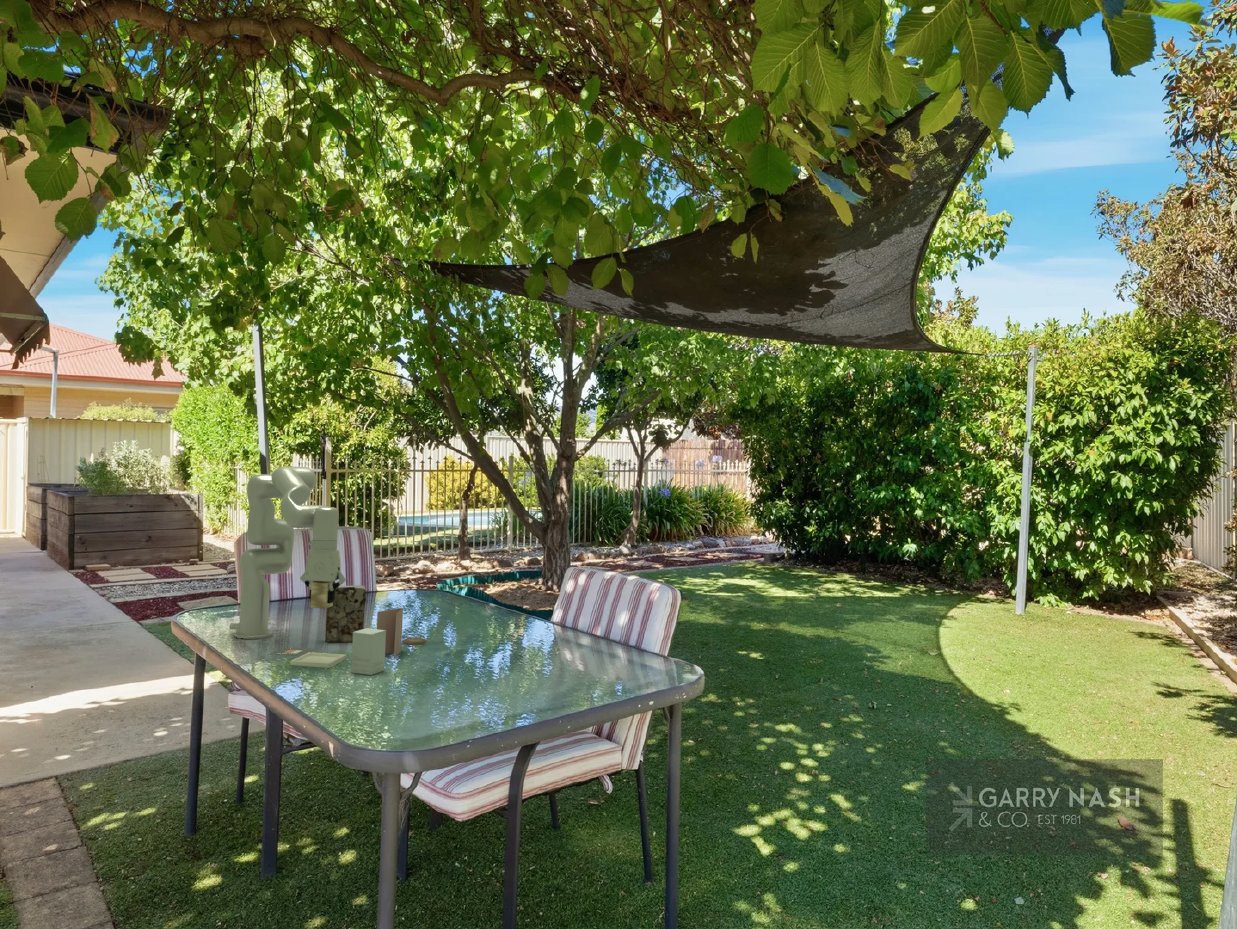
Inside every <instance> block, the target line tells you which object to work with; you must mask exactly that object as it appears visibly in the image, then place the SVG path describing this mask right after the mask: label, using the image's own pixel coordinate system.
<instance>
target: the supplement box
mask: <svg viewBox="0 0 1237 929" xmlns="http://www.w3.org/2000/svg"><path fill="white" fill-rule="evenodd" d="M385 641H386V630H378V629H377V628H370V627H367V628H364V629H362V630H359V631H355V632H353V642H351V643H352V645H351V646H352V648H351V668H350V669H351V671H350V673H352V674H361V675H367V676H373V675H375V674H378V673H381V672H384V671H385V664H386V663H385V662H386V661H385V659H386V654H385Z"/></svg>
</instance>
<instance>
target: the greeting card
mask: <svg viewBox="0 0 1237 929" xmlns="http://www.w3.org/2000/svg"><path fill="white" fill-rule="evenodd" d="M376 615H377V616H376V617H377V618H376V629H378V630H386V641H385V655H389V654H393V659H395V658H396V657H397V656H398V655H399V654H400V653H401V652H402V640H403V639H402V637H403V620H404V619H403V618H404V608H403V607H400V608H393V609H392V608H391V609H387V610H380V611H377V614H376Z"/></svg>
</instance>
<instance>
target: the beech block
mask: <svg viewBox="0 0 1237 929" xmlns="http://www.w3.org/2000/svg"><path fill="white" fill-rule="evenodd" d="M328 584H329V583H328V582H320V581H316V582H312V586H311V602H310V608H311V609H312V608H313V609H325V610H327V608H328V607H331V606H333V602H332V603H327V600H328V591H329V585H328Z"/></svg>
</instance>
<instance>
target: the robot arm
mask: <svg viewBox="0 0 1237 929" xmlns="http://www.w3.org/2000/svg"><path fill="white" fill-rule="evenodd" d="M316 485H317V476H316V473H315V471H314V470H313V469H312V468H310V467H307V466H288V465H287V466H286V465H285V466H284V465H283V466H280V467H277V468H276V469H274V470H273V471H272V473H263V474H262V473H261V474H255V475H252V476H251V477H250V478H249V480H248V482H247V484H246V495H247V500H248V506H249V511H248V519H247V533H246V534H247V535H246V537H247V541H248V543H249V544H251V545H252V546H253V545H254V546H255V545H256V546H276V547H273V548H272V547H269V548H268V547H266V548H265V547H263V548H262V547H261V548H251V549H247V550H245V551H243V552H242V553H241V555H240V557H239V567H240V568H239V569H240V575H241V576H240V577H241V578H240V579H241V580H240V583H241V588H240V604H239V605H240V606H239V608H240V609H239V622H238V623H235V622H231V623H230V624H229V630H235V632H234V634H233V637H234V636H235V637H234V638H236V637H237V639H241V638H243V639H245V640H255V639H256V640H257V639H265V638H269V637H271V636H272V635H273V631H272V630H269V615H270V592H271V587H270V586H271V585H270V584H269V581H267V579H266V578H265V575H280V574H284V573H287V572H288V571H289V570H290V569H291V566H292V560H293V550H294V543H295V542H294V539H295V538H294V537H295V530H294V529H312V539H311V540H309V541H308V544H307V545H308V546H311V549H308V554H307V557H306V561H305V569H304V572H303V574H302V575H301V576H300V577H299V579H300V580H301V582H303V583H304V585H305V586H306V587H307V589H308V590H309V594H308V595H309V597H308V599H309V602H310V603H311V586H312V582H316V581H320V582H328V583H329V584H328V585H329V591H328V600H327V603H332V602H333V601H334V599H335V590H336V589H337V588H338V587H339V586H342V584H344V583H345V582H346V581H347V579H346V577H345V576H344V575H343V573H342V571H341V568H342V567H341V557H340V550H339V549H338V534H339V514H340V513H339V509H338V508H337V507H333V506H332V507H331V506H328V505H323V504H305V503H306V502H308V500H309V498H310V497H311V491H313V490H314V488H315V486H316ZM272 499H281V501H280V514H281V517H282V518H275V512H276V506H275V503H274V502H273V501H272ZM336 581H337V582H336ZM243 639H242V640H243Z"/></svg>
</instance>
